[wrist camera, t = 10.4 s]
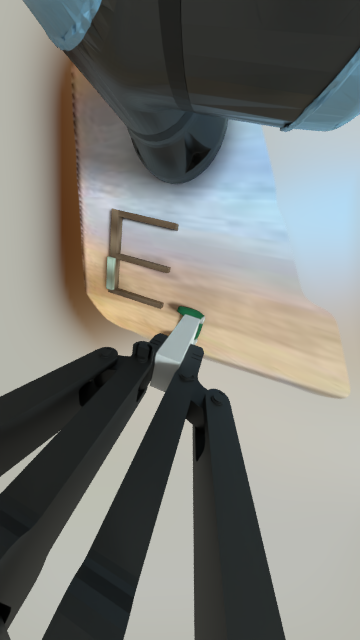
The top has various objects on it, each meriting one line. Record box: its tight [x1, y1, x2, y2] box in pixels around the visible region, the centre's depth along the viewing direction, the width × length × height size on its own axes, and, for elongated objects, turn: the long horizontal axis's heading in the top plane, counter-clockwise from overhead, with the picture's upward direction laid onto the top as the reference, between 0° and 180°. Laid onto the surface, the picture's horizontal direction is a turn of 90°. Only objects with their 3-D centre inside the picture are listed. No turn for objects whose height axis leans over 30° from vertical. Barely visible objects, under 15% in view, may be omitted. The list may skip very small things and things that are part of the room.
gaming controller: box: [177, 306, 205, 345], centre depth 37 cm, size 9×4×6 cm
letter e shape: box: [106, 209, 179, 309], centre depth 35 cm, size 17×14×2 cm
